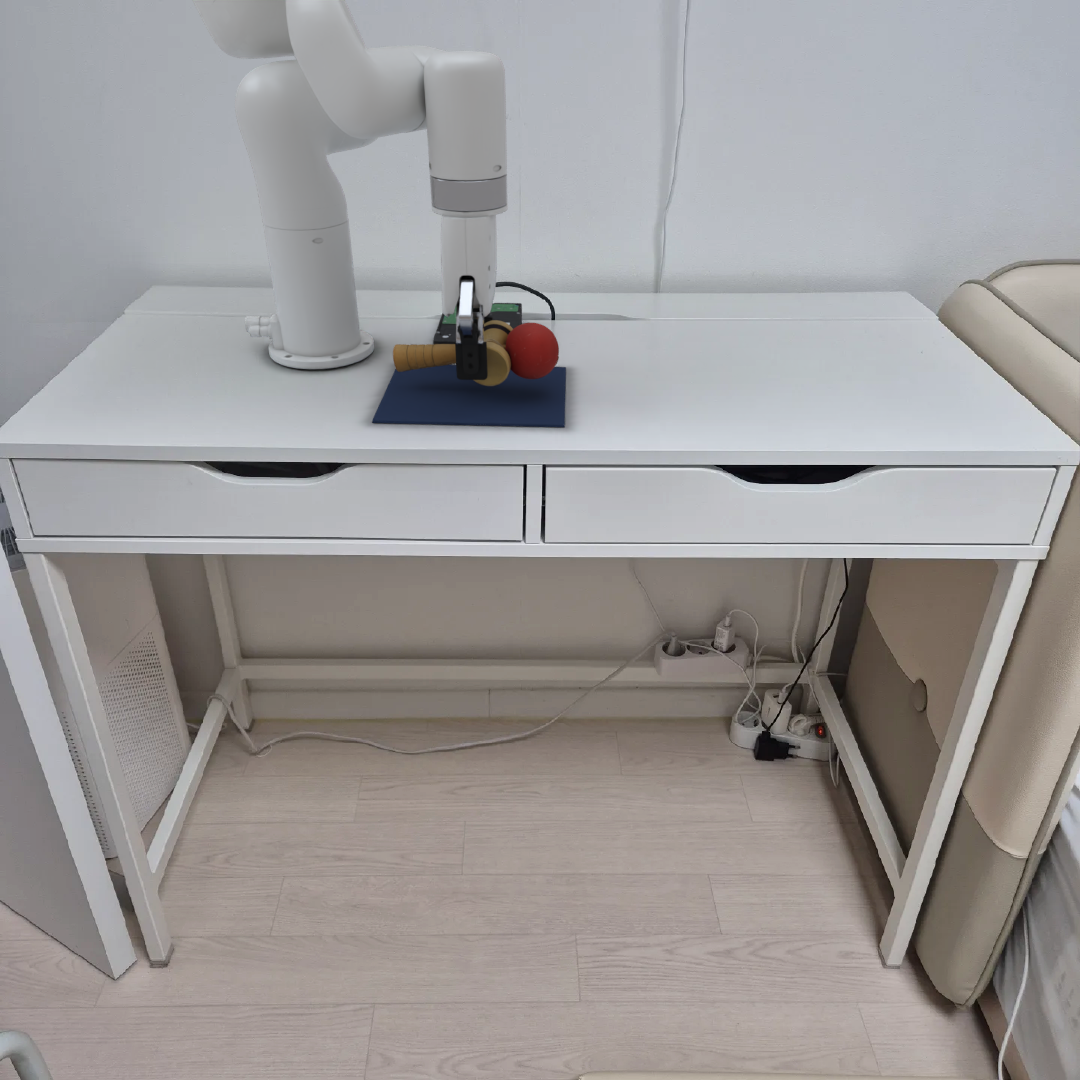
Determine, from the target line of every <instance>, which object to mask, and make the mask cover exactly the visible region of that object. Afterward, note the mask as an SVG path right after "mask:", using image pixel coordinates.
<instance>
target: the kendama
mask: <svg viewBox="0 0 1080 1080" xmlns="http://www.w3.org/2000/svg"><path fill="white" fill-rule="evenodd" d="M484 342H487V371H488V376H487V379H485V380H474V381H475V382H477V383H479V384H481V385H485V386H495V385H498V384H500V383H502V382H503V381H504V380H505V379H506V378H507V376H508V374H509V372H510V369H511V371H512V372H514V373H515V374H516V375H518V376H519V377H522V378H525V379H538V378H541V377H544V376H546V375H547V374H549V373H550V372H551V371H552V370H553V368H554V367H556V366H557V364H558V362H559V359H560V356H559V354H560V353H559V352H560V347H559V342H558V339H557V337H556V335H555V334H554V332H553V331H552V330H551V329H550V328H549V327H547V326H546V325H543V324H541V323H537V322H525V323H522V324H521V325H519V326H517V327H516V328H514V329H513V328H512V327H511V326H510V325H508V324H507V323H505V322H503V321H498V320H492V321H489V322H486V323H485V324H484ZM392 360H393V365H394V367H395V369H396V370H397V371H398V372H402V371H408V370H412V369H413V370H414V369H420V368H428V367H435V366H444V365H456V352H455V344H435V345H434V344H433V343H430V344H429V343H428V344H427V343H426V344H406V343H405V344H400V343H399V344H394V346H393V349H392Z"/></svg>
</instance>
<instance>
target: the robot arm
mask: <svg viewBox="0 0 1080 1080" xmlns="http://www.w3.org/2000/svg"><path fill="white" fill-rule="evenodd" d="M192 2H193V4H194V6H195V8H196V10H197V12H198V15H199V17H200V18H201V20H202V22H203V25H204V26H205V28H206V30H207V32H208V33H209V35H210V37H211V39H212V40H213V42H214V44H216V46H217V47H218V48H219V49H220V50H221V51H223V53H225V54H226V55H227V56H230V57H233V58H237V59H243V60H244V59H246V60H258V59H261V60H262V59H272V58H283V57H294V59H287V60H276V61H271V62H266V63H263V64H261V65H258V66H256V67H255V68H252V69H251V70H250V71H249V72H247V73H246V74H245V75H244V76H243V77H242V79H241V80H240V82H239V84H238V86H237V88H236V91H235V96H234V111H235V117H236V122H237V125H238V129H239V132H240V134H241V138H242V141H243V143H244V146H245V149H246V151H247V156H248V158H249V162H250V165H251V167H252V168H251V169H252V172H253V173H252V174H253V177H254V181H255V187H256V191H257V196H258V203H259V208H260V215H261V221H262V227H263V231H264V232H263V233H264V238H265V245H266V252H267V258H268V264H269V265H268V266H269V271H270V278H271V279H270V280H271V284H272V289H273V290H272V292H273V297H274V305H275V312H276V313H272V314H271V315H270V317H269V316H262V315H260V316H259V315H246V316H245V318H244V328H245V331H246V332H247V333H248V335H249V336H250V338H263V337H264V338H269V340H271V341H270V342H269V343H268V353H269V357H270V358H271V360H272V361H274V363H277V364H279V365H281V366H284V367H286V368H287V367H288V368H293V369H300V370H326V369H327V370H328V369H335V368H341V367H345V366H349V365H354V364H355V363H358V362H361V361H362V360H365V359H366V358H368V357H369V356H370V355H372V353H373V351H374V350H375V341H374V338H373V336H372V335H371V334H370V333H368V332H367V331H365V330H362V329H361V327H360V319H359V308H358V298H357V289H356V279H355V269H354V261H353V260H354V259H353V250H352V240H351V239H352V238H351V229H350V220H349V211H348V205H347V199H346V195H345V192H344V189H343V186H342V184H341V182H340V180H339V179H338V178H339V177H338V176H337V175H336V173H335V171H334V169H333V168H332V167H331V165H330V163H329V161H328V158H327V156H329V155H331V154H337V153H341V152H346V151H352V150H356V149H360V148H364V147H366V146H369V145H371V144H373V143H374V142H376V141H377V140H378V139H379V138H384V137H388V136H393V135H399V134H406V133H413V132H419V131H424V130H426V134H427V135H426V136H427V151H428V154H427V155H428V167H429V184H430V185H429V186H430V200H431V201H430V202H431V211H432V212H433V213H435V214H437V215H440V216H441V221H440V222H441V223H440V273H441V312H442V313H443V314H444V315H445V316H446V317H449V316H450V314H453V313H454V310H455V308H456V342H455V352H456V364H455V365H456V371H457V378H458V379H460V380H485V379H487V376H488V371H487V342H484V324H485V323H486V322H489V321H492V320H493V316H487V315H491V308H492V304H493V303H494V300H495V296H496V295H495V294H496V287H497V286H496V285H497V271H498V270H497V267H498V266H497V265H498V253H497V252H498V249H497V245H498V244H497V243H498V242H497V241H498V240H497V239H498V237H497V215H501V214H503V213H506V212H507V211H508V208H509V207H508V206H509V205H508V174H507V173H508V159H507V158H508V157H507V156H508V155H507V154H508V153H507V101H506V100H507V99H506V72H505V71H506V70H505V66H504V63H503V61H502V59H501V57H500V56H498V54H495V53H492V52H489V51H484V50H483V51H481V50H445V49H441V48H437V47H434V46H429V45H424V44H423V45H422V44H408V45H387V46H386V45H385V46H376V47H367V45H366V43H365V41H364V38H363V36H362V33H361V32H360V30H359V28H358V26H357V23H356V21H355V19H354V17H353V15H352V12H351V10H350V8H349V6H348V3H347V1H346V0H192Z"/></svg>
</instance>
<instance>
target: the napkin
mask: <svg viewBox="0 0 1080 1080" xmlns="http://www.w3.org/2000/svg"><path fill="white" fill-rule="evenodd" d="M566 387H567V367H566V366H555V367H554V368H553V370H552V371H551V372H550V373H549V374H547V375H546V376H544V377H541V378H538V379H525V378H522V377H519V376H518V375H516V374H515V373H514V372H512V371H511V369H510V372H509V374H508V376H507V378H506V379H505V380H504V381H503V382H502V383H500V384H498V385H495V386H485V385H481V384H479V383H477V382H475V381H474V380H460V379H458V378H457V371H456V364H450V365H444V366H435V367H428V368H420V369H414V370H413V369H412V370H408V371H402V372H398V371H397V370H396V368H395V369H394V371H393V374H392V376H391V378H390V380H389V382H388V384H387V387H386V388H385V390H384V394H383V395H382V398H381V399H380V402H379V404H378V407H377V409H376V410H375V414H374V416H373V417H372V420H371V423H372V424H395V425H396V424H398V425H399V424H400V425H401V424H403V425H408V424H409V425H439V426H441V425H442V426H443V425H445V426H447V425H448V426H450V425H451V426H483V427H484V426H487V427H489V426H490V427H527V428H528V427H529V428H531V427H532V428H539V427H540V428H565V427H566V426H565V425H566V390H567V389H566Z"/></svg>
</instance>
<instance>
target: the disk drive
mask: <svg viewBox="0 0 1080 1080" xmlns="http://www.w3.org/2000/svg"><path fill="white" fill-rule="evenodd" d="M487 316H493V320H498V321H503V322H505V323H507V324H508V325H510V326H511V327H512V328H513V329H514V328H516V327H517V326H519V325H521V324H523V323H522V322H523V304H522V303H521V302H493V304H492V308H491V315H487ZM455 342H456V308H455V310H454V313H453V314H450V316H449V317H446V316H445V315H444V314H443V313H442V314H441V315H440V319H439V322H438V324H437V327H436V330H435V333H434V336H433V340H432V344H434V345H435V344H455Z"/></svg>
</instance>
